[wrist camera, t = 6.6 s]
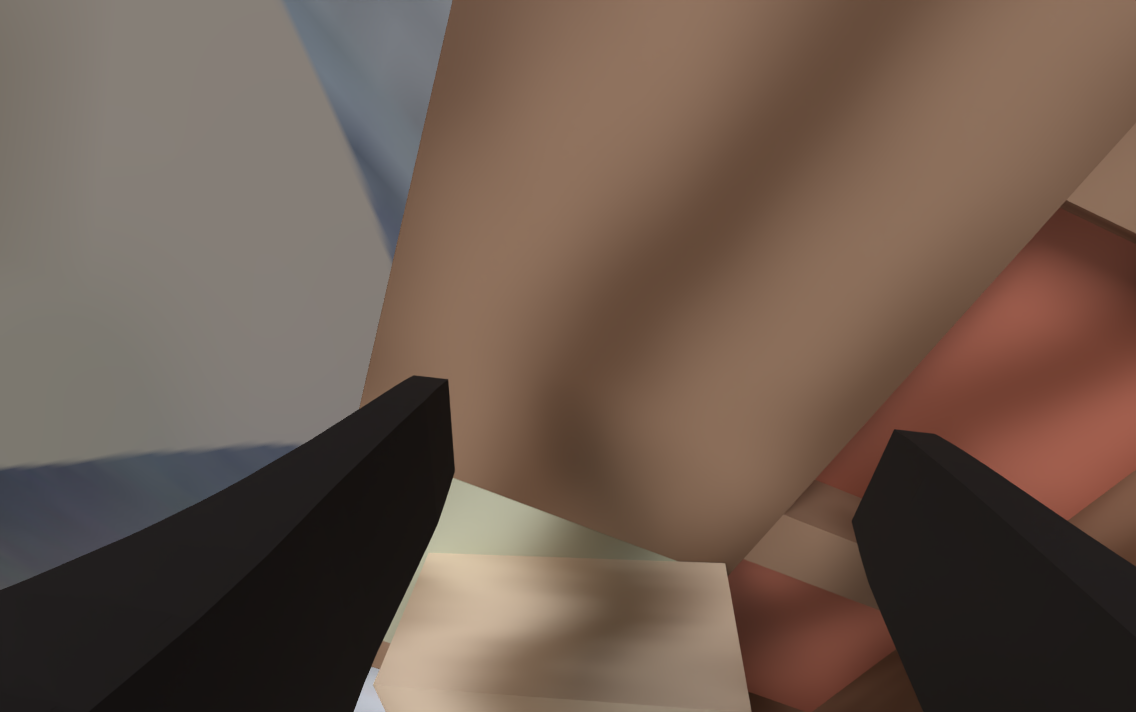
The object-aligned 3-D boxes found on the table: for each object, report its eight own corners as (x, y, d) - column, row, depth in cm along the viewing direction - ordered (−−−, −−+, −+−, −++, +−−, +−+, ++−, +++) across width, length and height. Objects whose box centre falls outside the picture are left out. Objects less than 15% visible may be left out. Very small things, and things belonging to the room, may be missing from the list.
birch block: (725, 562, 15) (751, 713, 12) (712, 697, 18) (730, 844, 15) (428, 552, 16) (373, 684, 13) (468, 679, 20) (432, 811, 16)
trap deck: (1476, 219, 11) (1681, 259, 9) (778, 738, 24) (792, 806, 22) (558, -258, 9) (534, -358, 7) (337, 586, 22) (304, 644, 20)
